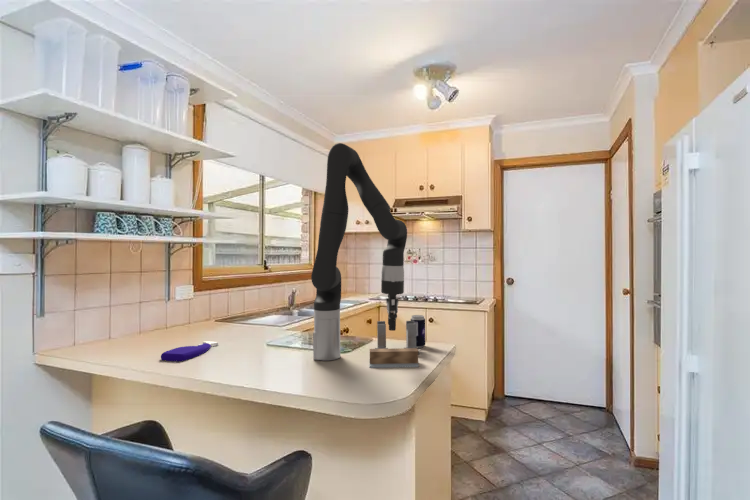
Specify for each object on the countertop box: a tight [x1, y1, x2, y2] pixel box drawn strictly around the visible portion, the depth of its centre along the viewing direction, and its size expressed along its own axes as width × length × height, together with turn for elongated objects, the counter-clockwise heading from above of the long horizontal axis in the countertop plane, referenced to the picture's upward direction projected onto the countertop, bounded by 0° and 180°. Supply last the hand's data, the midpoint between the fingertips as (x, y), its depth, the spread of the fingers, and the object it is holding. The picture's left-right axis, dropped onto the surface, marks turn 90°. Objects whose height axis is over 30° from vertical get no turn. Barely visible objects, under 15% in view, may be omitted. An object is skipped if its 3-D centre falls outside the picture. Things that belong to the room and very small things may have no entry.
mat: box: [369, 362, 420, 369], centre depth 135 cm, size 16×8×1 cm, turn 91°
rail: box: [369, 347, 419, 365], centre depth 135 cm, size 16×4×4 cm, turn 91°
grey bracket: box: [405, 320, 420, 356], centre depth 150 cm, size 5×8×11 cm, turn 1°
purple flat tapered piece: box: [160, 341, 220, 362], centre depth 153 cm, size 3×11×24 cm
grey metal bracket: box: [374, 320, 389, 349], centre depth 150 cm, size 5×8×11 cm, turn 1°
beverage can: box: [410, 314, 426, 349], centre depth 158 cm, size 6×6×12 cm
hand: (391, 327), depth 134 cm, fingers open, 8 cm apart
